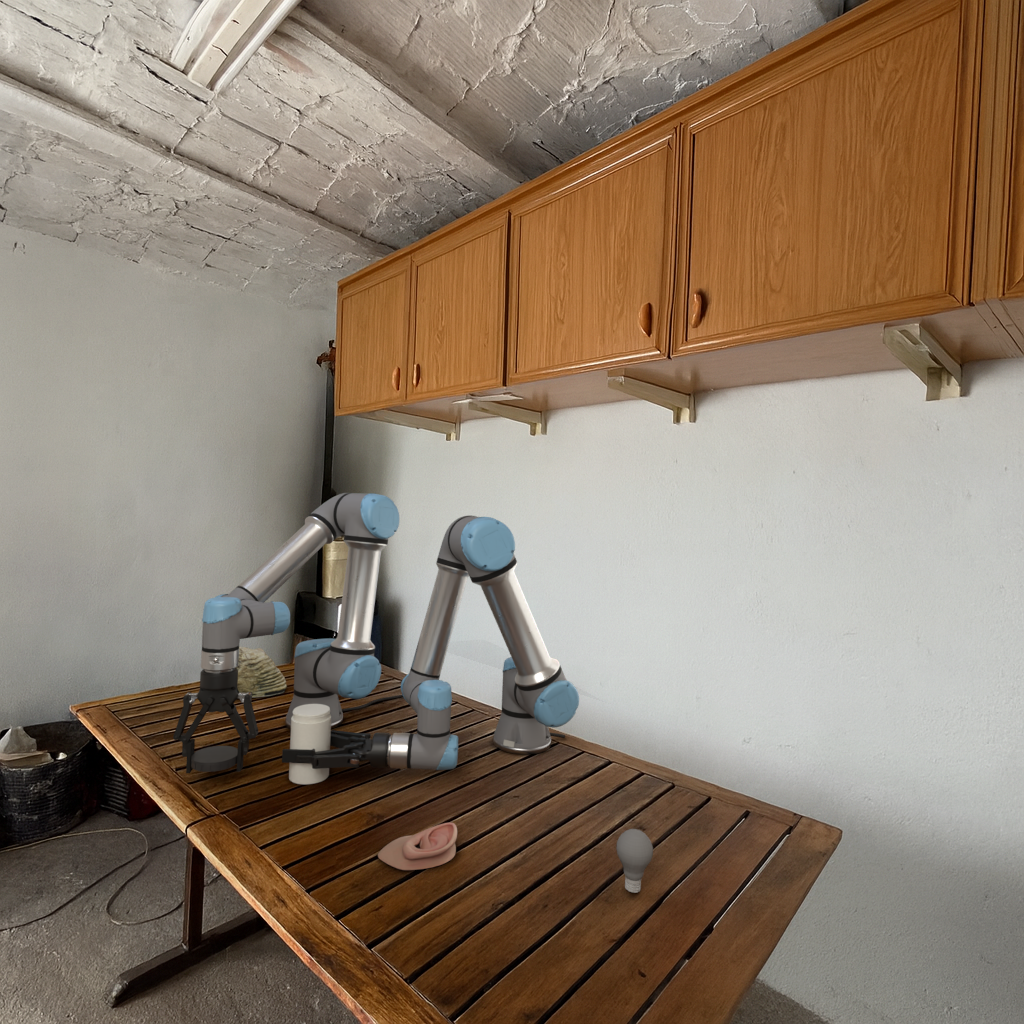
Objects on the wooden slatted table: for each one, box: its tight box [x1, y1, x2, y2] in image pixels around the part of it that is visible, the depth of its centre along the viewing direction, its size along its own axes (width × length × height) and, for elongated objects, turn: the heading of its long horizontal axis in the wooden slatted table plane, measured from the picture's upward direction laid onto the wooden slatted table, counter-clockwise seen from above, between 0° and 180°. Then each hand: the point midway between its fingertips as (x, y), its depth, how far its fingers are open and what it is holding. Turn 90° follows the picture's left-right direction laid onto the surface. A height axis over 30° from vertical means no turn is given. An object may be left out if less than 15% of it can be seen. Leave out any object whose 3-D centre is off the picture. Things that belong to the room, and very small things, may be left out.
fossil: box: [236, 646, 288, 698], centre depth 198 cm, size 9×18×15 cm, turn 132°
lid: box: [191, 745, 238, 773], centre depth 139 cm, size 10×10×2 cm
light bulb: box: [615, 828, 654, 894], centre depth 106 cm, size 6×6×10 cm
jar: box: [288, 704, 332, 785], centre depth 143 cm, size 9×9×15 cm
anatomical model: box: [377, 822, 458, 871], centre depth 114 cm, size 13×4×12 cm
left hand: (215, 769), depth 139 cm, fingers closed on lid, 10 cm apart
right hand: (289, 747), depth 143 cm, fingers closed on jar, 9 cm apart
